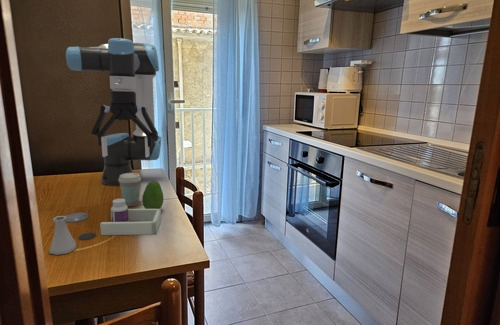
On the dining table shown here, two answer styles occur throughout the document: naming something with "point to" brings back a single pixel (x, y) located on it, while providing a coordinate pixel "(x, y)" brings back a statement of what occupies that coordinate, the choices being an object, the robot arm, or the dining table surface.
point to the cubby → (134, 223)
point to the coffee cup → (130, 188)
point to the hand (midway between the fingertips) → (126, 156)
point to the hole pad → (87, 236)
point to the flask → (62, 238)
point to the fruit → (152, 196)
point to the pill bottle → (119, 211)
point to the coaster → (76, 217)
